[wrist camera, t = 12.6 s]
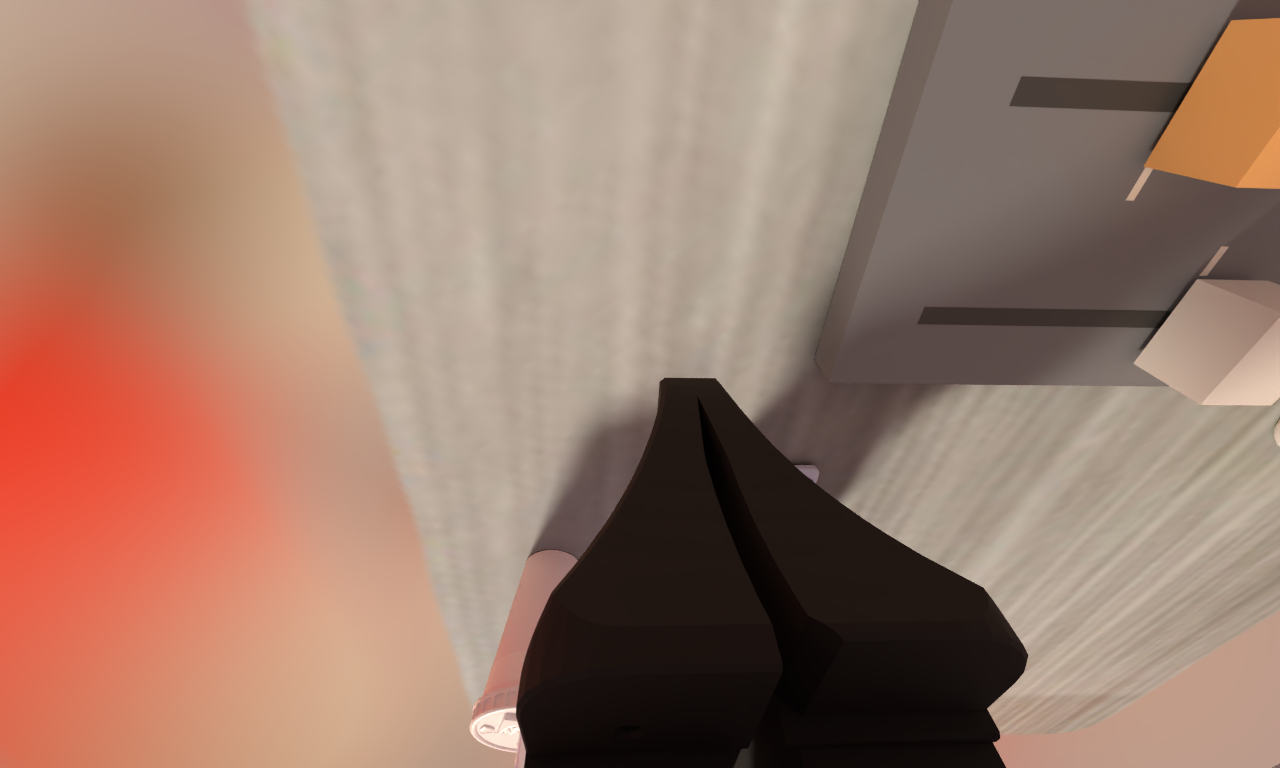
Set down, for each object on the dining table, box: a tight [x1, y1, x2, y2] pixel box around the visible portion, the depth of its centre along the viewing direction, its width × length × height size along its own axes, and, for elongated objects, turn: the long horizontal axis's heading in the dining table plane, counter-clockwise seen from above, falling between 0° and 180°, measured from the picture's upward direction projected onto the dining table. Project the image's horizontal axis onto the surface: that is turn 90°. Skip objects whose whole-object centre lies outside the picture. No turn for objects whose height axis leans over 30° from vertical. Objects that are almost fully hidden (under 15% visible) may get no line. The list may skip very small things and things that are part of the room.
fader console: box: [814, 0, 1280, 386], centre depth 19 cm, size 15×20×2 cm
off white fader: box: [1133, 279, 1280, 405], centre depth 19 cm, size 4×3×3 cm
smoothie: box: [470, 550, 578, 768], centre depth 27 cm, size 6×6×14 cm
